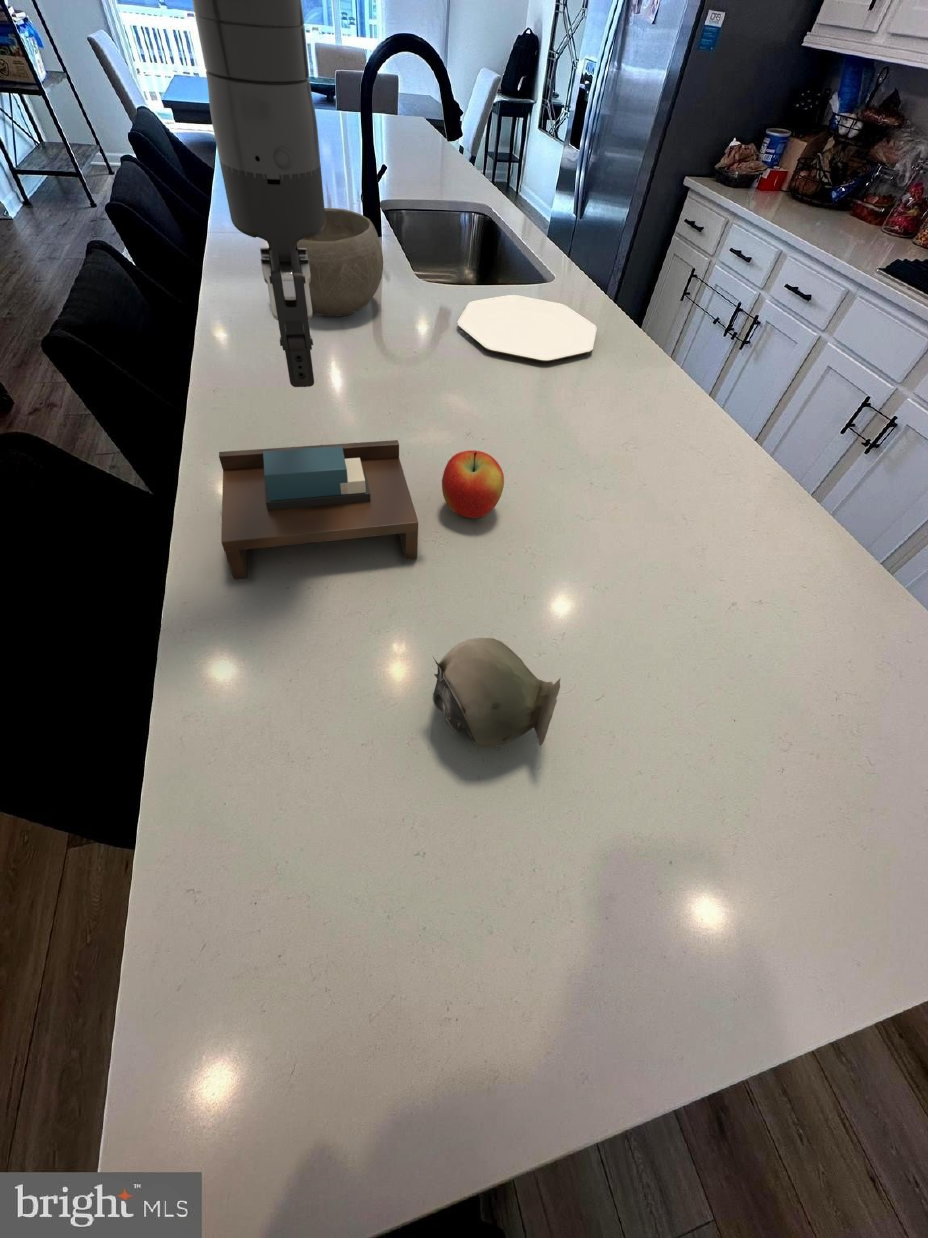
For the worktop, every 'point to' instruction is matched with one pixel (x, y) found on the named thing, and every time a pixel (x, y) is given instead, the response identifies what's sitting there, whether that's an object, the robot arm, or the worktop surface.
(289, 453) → the teal eraser block
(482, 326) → the plate
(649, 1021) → the worktop surface
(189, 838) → the worktop surface
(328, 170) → the worktop surface
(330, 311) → the bowl
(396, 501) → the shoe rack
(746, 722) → the worktop surface
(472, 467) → the apple
